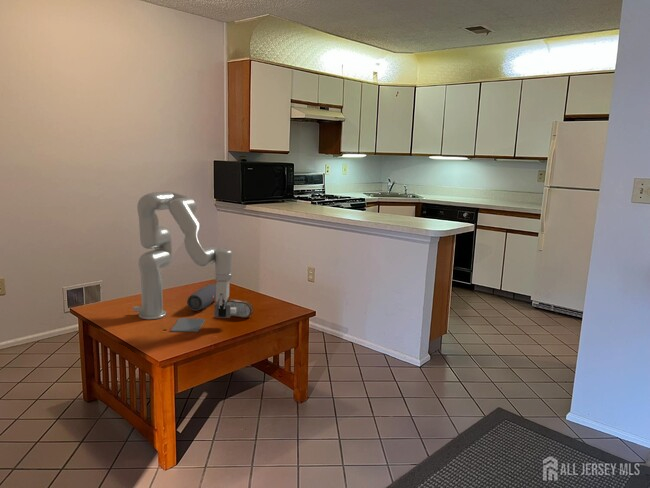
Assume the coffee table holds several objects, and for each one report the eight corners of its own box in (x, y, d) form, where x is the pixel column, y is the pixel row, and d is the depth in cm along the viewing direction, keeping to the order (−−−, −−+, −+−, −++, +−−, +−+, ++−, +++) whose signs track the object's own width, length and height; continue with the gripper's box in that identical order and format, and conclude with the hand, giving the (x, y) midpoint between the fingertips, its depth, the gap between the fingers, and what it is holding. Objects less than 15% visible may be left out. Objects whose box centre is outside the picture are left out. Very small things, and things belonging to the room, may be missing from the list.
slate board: (170, 331, 213) (170, 330, 213) (179, 319, 229) (179, 318, 229) (197, 332, 214) (197, 331, 214) (204, 320, 230) (204, 318, 230)
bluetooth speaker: (203, 314, 238) (203, 294, 236) (186, 312, 240) (185, 292, 238) (222, 301, 260) (222, 283, 258) (206, 299, 261) (206, 281, 260)
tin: (253, 317, 237) (254, 301, 235) (251, 319, 234) (251, 302, 232) (225, 313, 240) (226, 297, 239) (222, 315, 237) (223, 299, 236)
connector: (214, 317, 219) (214, 304, 218) (215, 314, 223) (216, 302, 222) (235, 318, 220) (235, 305, 218) (236, 315, 223) (236, 303, 222)
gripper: (218, 271, 225) (217, 308, 229) (211, 281, 209) (211, 321, 213) (234, 272, 226) (233, 309, 229) (229, 281, 210) (228, 321, 213)
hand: (222, 314), depth 221 cm, fingers closed on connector, 3 cm apart
